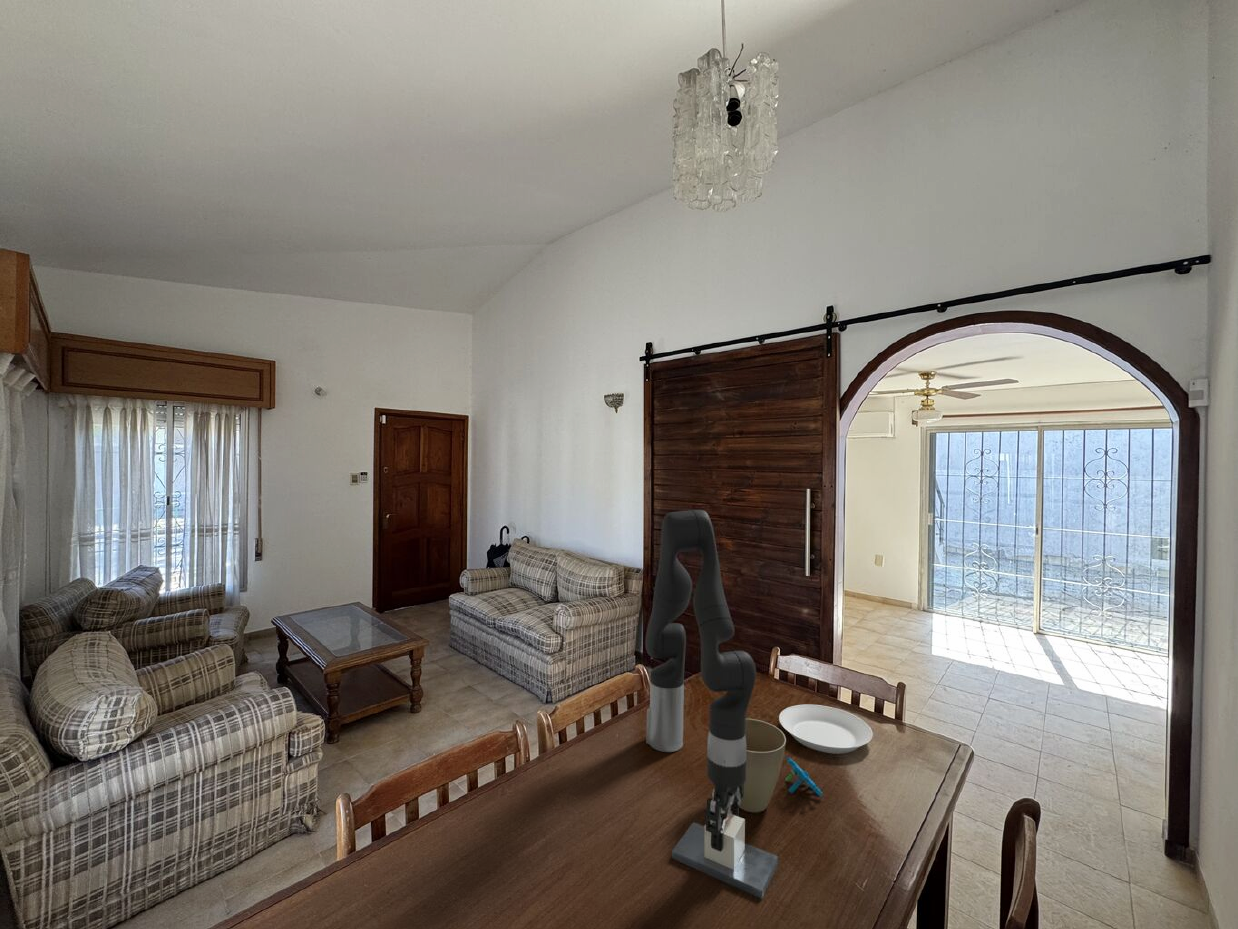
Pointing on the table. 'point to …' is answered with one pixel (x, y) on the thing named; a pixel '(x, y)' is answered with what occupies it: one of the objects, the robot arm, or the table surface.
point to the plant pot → (761, 763)
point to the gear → (800, 778)
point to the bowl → (825, 728)
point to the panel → (746, 876)
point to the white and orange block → (728, 842)
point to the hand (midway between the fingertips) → (725, 835)
